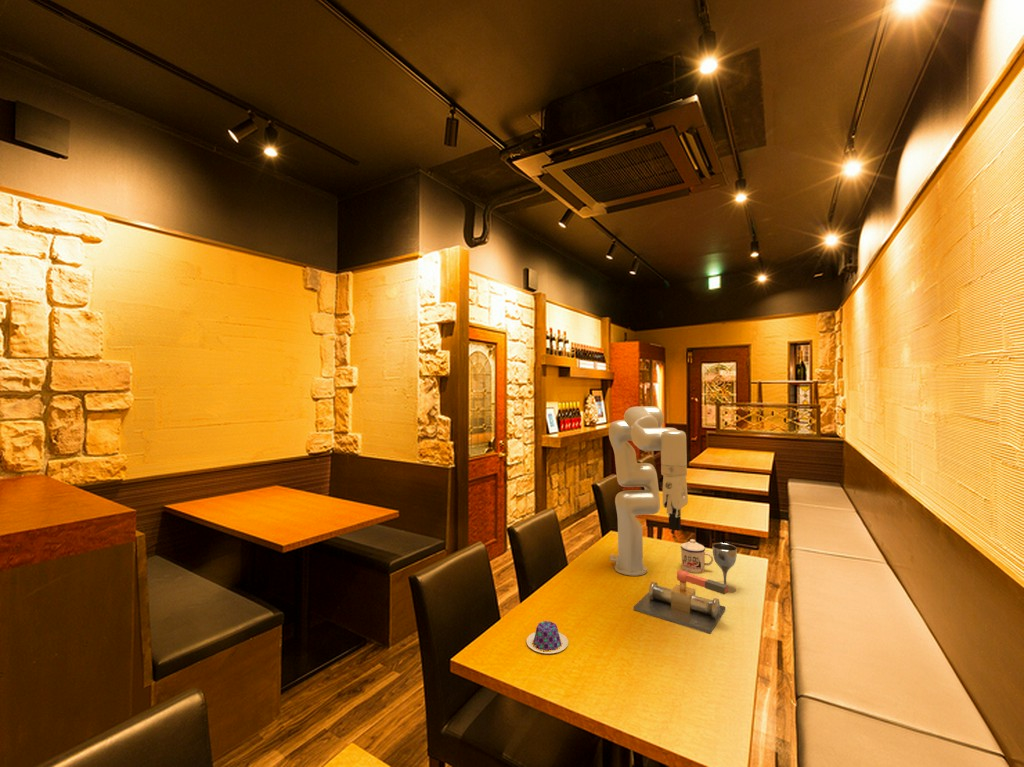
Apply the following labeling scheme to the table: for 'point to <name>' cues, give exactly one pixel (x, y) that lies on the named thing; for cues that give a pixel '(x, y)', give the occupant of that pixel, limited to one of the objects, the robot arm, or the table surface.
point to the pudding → (547, 638)
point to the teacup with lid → (694, 557)
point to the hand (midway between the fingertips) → (674, 529)
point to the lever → (702, 582)
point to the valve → (681, 607)
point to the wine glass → (725, 559)
